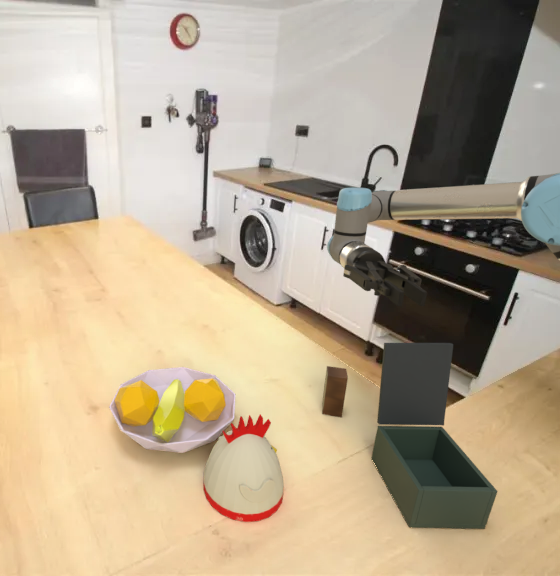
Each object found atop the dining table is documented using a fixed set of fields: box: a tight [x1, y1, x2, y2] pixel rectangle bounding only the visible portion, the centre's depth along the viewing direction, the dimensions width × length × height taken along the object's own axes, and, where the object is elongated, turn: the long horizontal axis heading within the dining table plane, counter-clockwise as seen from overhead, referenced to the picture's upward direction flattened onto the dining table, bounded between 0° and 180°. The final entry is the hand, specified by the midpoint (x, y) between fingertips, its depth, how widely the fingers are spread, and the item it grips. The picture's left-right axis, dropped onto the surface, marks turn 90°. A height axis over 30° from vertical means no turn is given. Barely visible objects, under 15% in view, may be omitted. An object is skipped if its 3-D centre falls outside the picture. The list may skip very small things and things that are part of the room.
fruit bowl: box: [108, 366, 236, 454], centre depth 86 cm, size 28×27×11 cm
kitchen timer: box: [203, 414, 285, 523], centre depth 70 cm, size 14×14×15 cm
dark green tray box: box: [371, 425, 498, 530], centre depth 70 cm, size 15×12×8 cm
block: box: [321, 365, 349, 418], centre depth 90 cm, size 4×4×10 cm
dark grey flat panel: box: [376, 342, 454, 426], centre depth 73 cm, size 15×12×1 cm
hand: (412, 299), depth 74 cm, fingers open, 3 cm apart
